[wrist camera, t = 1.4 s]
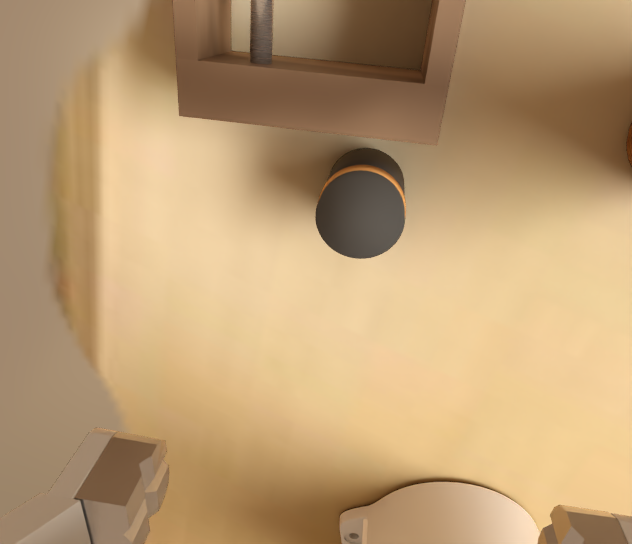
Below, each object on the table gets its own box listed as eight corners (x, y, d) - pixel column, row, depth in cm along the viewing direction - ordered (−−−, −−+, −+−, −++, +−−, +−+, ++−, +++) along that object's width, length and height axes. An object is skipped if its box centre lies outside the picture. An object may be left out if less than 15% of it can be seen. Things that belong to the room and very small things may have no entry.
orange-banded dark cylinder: (398, 226, 29) (398, 264, 25) (324, 216, 30) (311, 253, 26) (411, 152, 27) (413, 180, 23) (330, 143, 28) (318, 168, 23)
